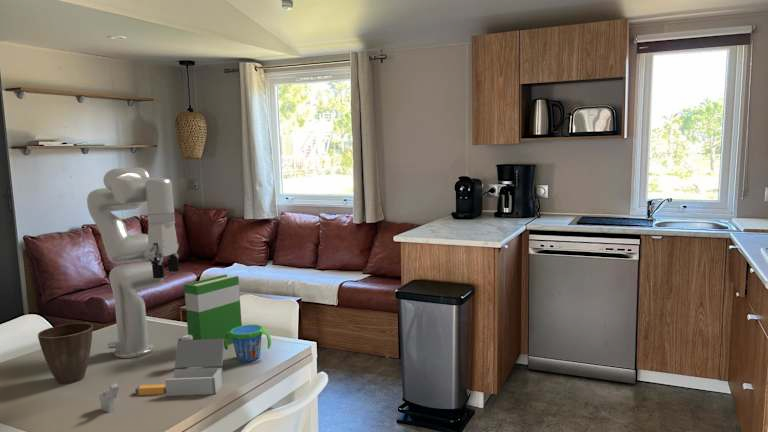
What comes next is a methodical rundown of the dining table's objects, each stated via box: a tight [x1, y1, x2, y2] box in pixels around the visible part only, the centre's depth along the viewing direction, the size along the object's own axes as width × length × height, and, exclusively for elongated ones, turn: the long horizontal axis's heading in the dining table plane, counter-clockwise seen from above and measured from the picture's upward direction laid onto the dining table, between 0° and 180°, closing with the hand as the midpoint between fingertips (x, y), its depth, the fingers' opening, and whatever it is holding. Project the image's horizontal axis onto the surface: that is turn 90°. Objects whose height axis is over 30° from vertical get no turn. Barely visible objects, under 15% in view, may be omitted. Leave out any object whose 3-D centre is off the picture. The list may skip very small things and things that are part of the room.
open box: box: [164, 366, 224, 397], centre depth 164 cm, size 14×8×5 cm, turn 90°
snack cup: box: [224, 324, 272, 363], centre depth 188 cm, size 16×10×10 cm
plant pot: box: [37, 322, 94, 385], centre depth 175 cm, size 15×15×16 cm
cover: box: [174, 339, 225, 369], centre depth 170 cm, size 14×8×1 cm
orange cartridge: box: [135, 383, 166, 396], centre depth 163 cm, size 9×2×2 cm, turn 90°
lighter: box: [99, 382, 120, 413], centre depth 152 cm, size 7×2×8 cm, turn 56°
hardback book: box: [183, 274, 243, 346], centre depth 202 cm, size 18×7×24 cm, turn 144°
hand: (166, 274), depth 172 cm, fingers open, 9 cm apart
